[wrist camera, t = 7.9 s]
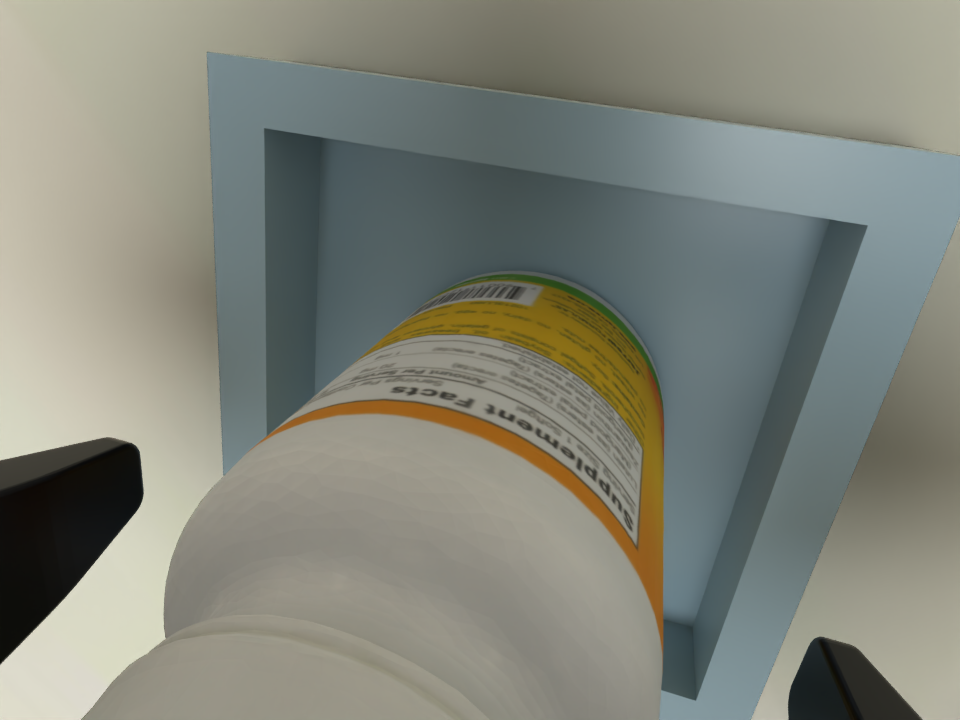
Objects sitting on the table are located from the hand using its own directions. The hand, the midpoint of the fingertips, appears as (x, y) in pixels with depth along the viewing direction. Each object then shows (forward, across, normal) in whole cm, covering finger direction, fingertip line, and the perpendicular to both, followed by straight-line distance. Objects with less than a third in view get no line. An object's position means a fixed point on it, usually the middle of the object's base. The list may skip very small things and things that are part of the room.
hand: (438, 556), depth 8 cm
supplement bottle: (+5, 0, 0) cm, 5 cm away
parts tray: (+6, 0, 0) cm, 6 cm away
